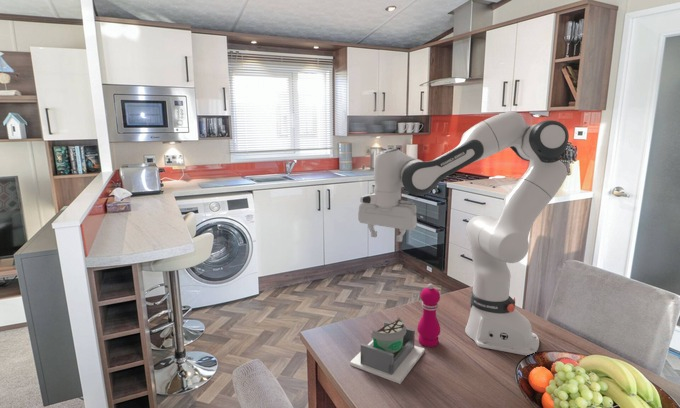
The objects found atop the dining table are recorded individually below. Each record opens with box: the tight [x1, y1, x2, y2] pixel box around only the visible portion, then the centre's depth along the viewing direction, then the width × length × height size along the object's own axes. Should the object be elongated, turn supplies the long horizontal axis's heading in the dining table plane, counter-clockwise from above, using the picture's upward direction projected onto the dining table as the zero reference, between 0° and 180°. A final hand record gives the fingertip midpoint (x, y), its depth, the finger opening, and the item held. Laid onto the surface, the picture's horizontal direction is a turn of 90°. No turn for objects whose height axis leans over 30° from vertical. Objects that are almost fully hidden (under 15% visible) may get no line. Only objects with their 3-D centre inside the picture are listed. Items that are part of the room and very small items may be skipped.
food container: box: [370, 316, 407, 358], centre depth 115 cm, size 12×6×10 cm, turn 132°
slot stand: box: [349, 321, 425, 385], centre depth 117 cm, size 16×18×7 cm
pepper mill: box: [417, 283, 441, 348], centre depth 125 cm, size 7×7×20 cm
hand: (386, 239), depth 132 cm, fingers open, 8 cm apart
